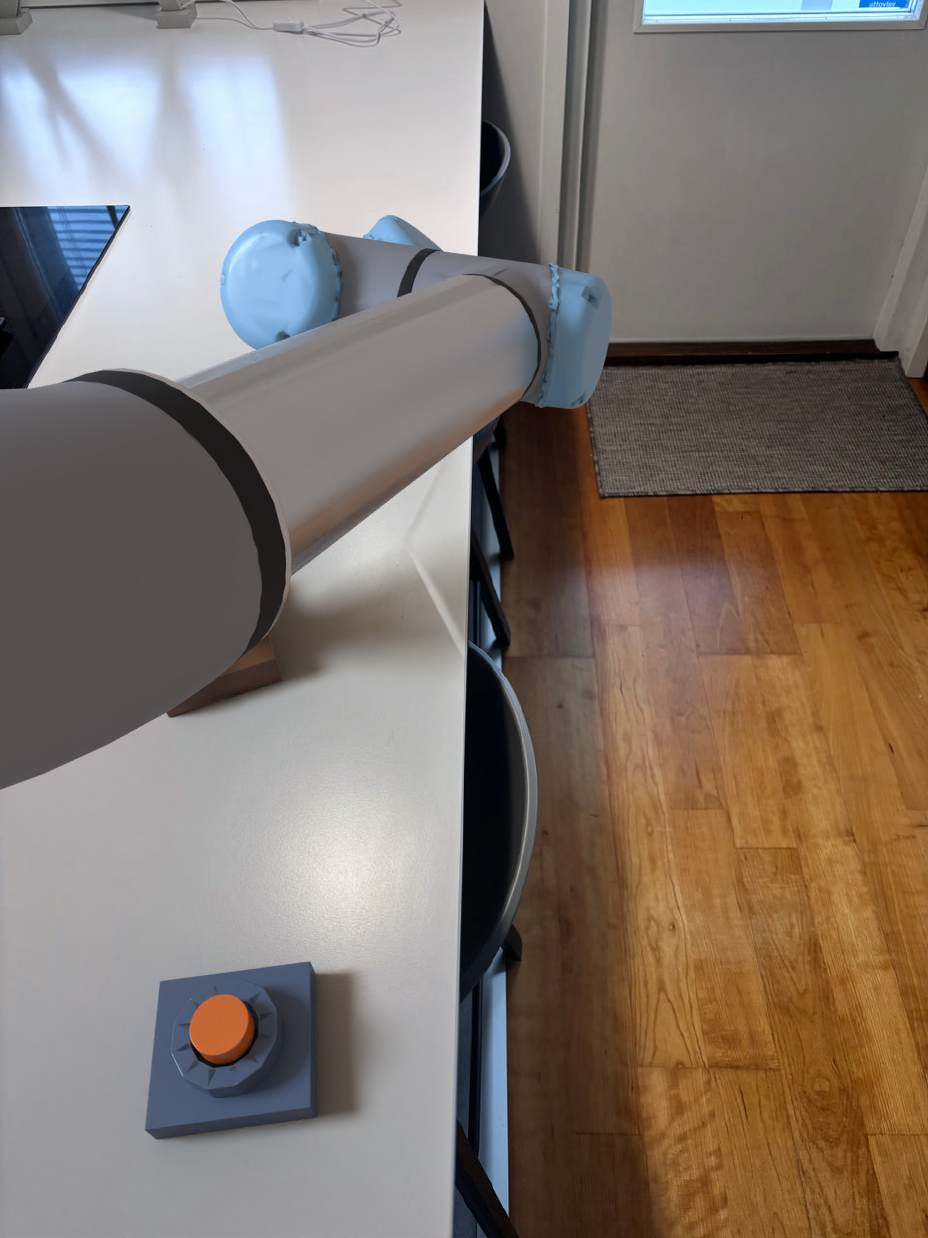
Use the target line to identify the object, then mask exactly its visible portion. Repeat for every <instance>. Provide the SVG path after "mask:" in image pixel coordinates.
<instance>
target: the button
mask: <svg viewBox="0 0 928 1238" xmlns="http://www.w3.org/2000/svg"><path fill="white" fill-rule="evenodd" d="M254 1034H255V1024H254V1020H253V1017H252V1015H251V1014H250V1012H249V1010H248V1009H247V1007H246V1006H245V1004H244V1003H243V1002H242V1001H241V1000H240V999H239V998H237V997H235V996H233V995H227V994H222V995H217V996H214V997H211V998H209V999H208V1000H206V1001H205V1002H204V1003H202V1004H201V1005H200V1006H199V1007H198V1009H197V1010H196V1012H195V1013H194V1015H193V1017H192V1020H191V1023H190V1038H191V1041H192V1043H193V1045H194V1046H195V1048H196V1049H197V1050H198V1051H199V1052H200V1054H201V1055H202V1056H203V1057H204V1058H205V1059H206V1060H208V1061H209V1062H212V1063H215V1064H226V1063H230V1062H233V1061H235V1060H236V1059H238V1058H239V1057H241V1056H242V1055H243V1054H244V1053H245V1052H246V1051H247V1050H248V1048H249V1047H250V1045H251V1043H252V1041H253V1038H254Z"/></svg>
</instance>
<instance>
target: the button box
mask: <svg viewBox="0 0 928 1238" xmlns="http://www.w3.org/2000/svg"><path fill="white" fill-rule="evenodd" d="M222 994H227V995H233V996H235V997H237V998H239V999H240V1000H241V1001H242V1002H243V1003H244V1004H245V1006H246V1007H247V1009H248V1010H249V1012H250V1014H251V1015H252V1017H253V1020H254V1024H255V1034H254V1038H253V1041H252V1043H251V1045H250V1047H249V1048H248V1050H247V1051H246V1052H245V1053H244V1054H243V1055H242V1056H241V1057H239V1058H238V1059H236V1060H235V1061H233V1062H230V1063H226V1064H215V1063H212V1062H209V1061H208V1060H206V1059H205V1058H204V1057H203V1056H202V1055H201V1054H200V1052H199V1051H198V1050H197V1049H196V1048H195V1046H194V1045H193V1043H192V1041H191V1038H190V1023H191V1020H192V1017H193V1015H194V1013H195V1012H196V1010H197V1009H198V1007H199V1006H200V1005H201V1004H202V1003H204V1002H205V1001H206V1000H208V999H209V998H211V997H214V996H217V995H222ZM154 1025H155V1026H154V1034H153V1035H154V1036H153V1044H152V1054H151V1063H150V1074H149V1084H148V1092H147V1101H146V1102H147V1104H146V1112H145V1123H144V1131H145V1132H146V1133H148V1134H149V1135H150V1136H151V1137H152V1138H154V1139H155V1140H159V1139H165V1138H166V1139H167V1138H173V1137H181V1136H189V1135H195V1134H203V1133H204V1134H205V1133H209V1132H217V1131H224V1130H225V1131H226V1130H231V1129H238V1128H239V1129H240V1128H246V1127H247V1128H248V1127H255V1126H260V1125H261V1126H262V1125H268V1124H277V1123H283V1122H284V1123H285V1122H290V1121H297V1120H305V1119H312V1118H313V1119H314V1118H317V1117H318V1069H317V1068H318V1065H317V1064H318V1063H317V1059H318V1058H317V1057H318V1055H317V1054H318V1051H317V1047H318V1046H317V1044H318V1043H317V1042H318V1041H317V973H316V971H315V969H314V967H313V964H312V962H311V960H310V961H309V960H308V961H302V962H301V961H300V962H295V963H288V964H279V965H273V966H271V965H270V966H265V967H257V968H250V969H249V968H248V969H241V970H235V971H227V972H220V973H211V974H203V975H197V976H188V977H181V978H173V979H167V980H160V981H159V986H158V997H157V1006H156V1016H155V1024H154Z"/></svg>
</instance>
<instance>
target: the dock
mask: <svg viewBox="0 0 928 1238" xmlns="http://www.w3.org/2000/svg"><path fill="white" fill-rule="evenodd" d="M283 680H284V676H283V673H282V670H281V667H280V663H279V660H278V658H277V654H276V651H275V649H274V645H273V643H272V640H271V637H270V634H269V633H268V634H267V635H266V636H265V637H264V638H263V639H262V640H261V641H260V642H259V643H258V644H257V645H256V646H254V647H253V648H252V649H251V650H249V651H248V652H247V653H246V654H245V655H243V656H242V657H241V658H240V659H238V660H237V661H236V662H235V663H234V664H233V665H232V666H230V667H229V668H228V669H227V670H226V671H224V672H223V673H222V674H221V675H220V676H218V677H217V678H216V679H215V680H214V681H212V682H211V683H209V684H208V685H207V686H205V687H204V688H202V689H201V690H199V691H198V692H196V693H195V694H193V695H192V696H190V697H189V698H188V699H186V700H185V701H183V702H182V703H180V704H179V705H177V706H176V707H174V708H173V709H171V710H170V711H168V712H166V713H165V714H166V715H167V717H168V718H171V717H175V716H178V715H180V714H185V713H187V712H190V711H193V710H196V709H199V708H202V707H206V706H207V705H211V704H214V703H217V702H219V701H223V700H226V699H229V698H232V697H235V696H238V695H240V694H244V693H247V692H250V691H253V690H256V689H259V688H261V687H264V686H267V685H271V684H274V683H277V682H281V681H283Z"/></svg>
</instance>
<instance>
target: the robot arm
mask: <svg viewBox="0 0 928 1238" xmlns="http://www.w3.org/2000/svg"><path fill="white" fill-rule="evenodd" d="M219 280H220V287H219V294H220V301H221V305H222V309H223V312H224V315H225V317H226V320H227V322H228V324H229V325H230V327H231V329H232V330H233V332H234V333H235V334H236V336H238V338H239V339H240V340H241V341H242V342H244V343H245V344H246V345H247V346H249V347H250V348H251V349H254V350H252V351H250V352H246V353H243V354H242V355H239V356H236V357H233V358H231V359H228V360H225V361H223V362H220V363H217V364H214V365H212V366H209V367H207V368H204V369H201V370H199V371H195V372H193V373H190V374H188V375H184V376H182V377H180V378H176V379H174V380H171V379H170V378H167V377H165V376H163V375H159V374H156V373H152V372H149V371H146V370H140V369H132V368H125V367H119V368H117V367H116V368H103V369H100V370H95V371H91V372H87V373H83V374H80V375H78V376H75V377H72V378H70V379H69V378H68V379H66V380H64V381H61V382H57V383H52V384H46V385H42V386H41V385H40V386H36V387H31V388H7V389H0V790H4V789H6V788H9V787H12V786H14V785H17V784H21V783H24V782H25V781H28V780H31V779H34V778H37V777H39V776H42V775H45V774H47V773H49V772H51V771H53V770H55V769H58V768H60V767H62V766H64V765H66V764H69V763H71V762H73V761H75V760H78V759H79V758H81V757H84V756H86V755H89V754H90V753H93V752H95V751H97V750H99V749H101V748H103V747H106V746H108V745H110V744H112V743H113V742H116V741H117V740H119V739H121V738H123V737H124V736H127V735H128V734H130V733H131V732H132V733H133V732H134V731H136V730H138V729H139V728H141V727H143V726H145V725H146V724H148V723H150V722H152V721H154V720H155V719H157V718H159V717H161V716H163V715H164V714H167V713H166V712H168V711H170V710H171V709H173V708H174V707H176V706H177V705H179V704H180V703H182V702H183V701H185V700H186V699H188V698H189V697H190V696H192V695H193V694H195V693H196V692H198V691H199V690H201V689H202V688H204V687H205V686H207V685H208V684H209V683H211V682H212V681H214V680H215V679H216V678H217V677H218V676H220V675H221V674H222V673H223V672H224V671H226V670H227V669H228V668H229V667H230V666H232V665H233V664H234V663H235V662H236V661H237V660H238V659H240V658H241V657H242V656H243V655H245V654H246V653H247V652H248V651H249V650H251V649H252V648H253V647H254V646H256V645H257V644H258V643H259V642H260V641H261V640H262V639H263V638H264V637H265V636H266V635H267V634H269V632H270V631H271V630H272V629H273V628H274V626H275V625H276V623H277V622H278V620H279V618H280V616H281V614H282V612H283V611H284V608H285V605H286V602H287V598H288V595H289V592H290V585H291V579H292V577H293V576H294V575H295V574H296V573H298V572H299V571H301V570H302V569H303V568H304V567H305V566H307V565H308V564H309V563H311V562H312V561H314V560H315V559H316V558H317V557H319V556H320V555H321V554H322V553H324V552H325V551H327V549H329V548H331V546H332V545H334V544H335V543H336V542H338V541H339V540H340V539H342V538H343V537H344V536H345V535H347V534H348V533H349V532H350V531H352V530H353V529H354V528H356V527H357V526H358V525H360V524H361V523H362V522H364V521H365V520H366V519H367V518H369V517H370V516H372V514H374V513H375V512H377V511H378V510H379V509H380V508H382V507H383V506H384V505H385V504H387V503H388V502H389V501H391V500H392V499H393V498H395V496H397V495H399V494H400V493H401V492H403V491H404V490H405V489H406V488H407V487H409V486H410V485H411V484H412V483H414V482H415V481H417V480H418V479H419V478H420V477H422V476H423V475H424V474H425V473H427V472H428V471H429V470H430V469H432V468H433V467H435V465H437V464H438V463H440V462H441V461H442V460H444V459H445V458H446V457H447V456H448V455H450V454H451V453H452V452H454V451H455V450H456V449H458V448H459V447H460V446H461V445H463V444H464V443H466V441H468V440H469V439H471V438H472V437H473V436H474V435H476V434H477V433H478V432H479V431H480V430H482V429H483V428H485V427H486V426H487V425H489V424H490V423H491V422H493V420H495V419H496V418H497V417H499V416H500V415H501V414H502V413H504V412H505V411H507V410H508V409H510V408H512V407H513V406H515V405H516V404H517V403H519V402H526V403H529V404H532V405H534V406H535V407H537V408H538V407H539V408H541V409H542V408H545V407H549V408H558V409H567V410H573V409H579V408H581V407H582V406H584V405H585V404H586V403H587V402H588V401H589V400H590V399H591V397H592V395H593V394H594V392H595V390H596V388H597V386H598V384H599V381H600V378H601V375H602V372H603V369H604V364H605V361H606V357H607V353H608V347H609V342H610V336H611V329H612V328H611V327H612V317H613V306H612V303H613V302H612V297H611V292H610V290H609V288H608V286H607V283H605V281H604V280H603V279H602V278H601V277H600V276H598V275H596V274H593V273H588V272H583V271H579V270H574V269H569V268H565V267H561V266H559V265H558V264H557V263H555V262H553V263H552V262H549V263H548V264H540V263H534V262H527V261H526V262H525V261H518V260H517V261H516V260H509V259H502V258H495V257H489V256H488V257H487V256H480V255H474V254H465V253H459V252H451V251H444V250H443V249H442V248H441V247H440V246H439V245H438V244H436V242H435V241H433V240H432V239H431V238H430V237H428V236H427V235H426V234H424V233H423V232H422V231H421V230H419V229H418V228H416V226H414V225H412V224H411V223H410V222H408V221H406V220H404V219H403V218H401V217H399V216H398V215H397V216H396V215H394V214H388V215H387V214H386V215H384V216H382V217H381V218H380V219H378V220H377V221H376V223H375V224H374V225H373V227H371V229H370V230H369V231H368V232H367V233H366V234H364V235H363V236H362V237H357V236H352V235H344V234H339V233H338V234H337V233H333V232H329V231H323V230H320V229H319V228H318V227H317V226H316V225H313V224H311V223H303V222H302V223H301V222H300V223H299V222H297V221H295V220H294V221H288V220H283V219H269V220H263V221H260V222H258V223H255V224H253V225H252V226H251V225H250V226H249V227H248V228H247V229H245V230H244V231H243V232H242V233H241V234H240V235H239V236H238V237H237V238H236V239H235V240H234V241H233V242H232V244H231V246H230V247H229V249H228V250H227V253H226V256H225V257H224V260H223V263H222V268H221V273H220V277H219Z"/></svg>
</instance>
